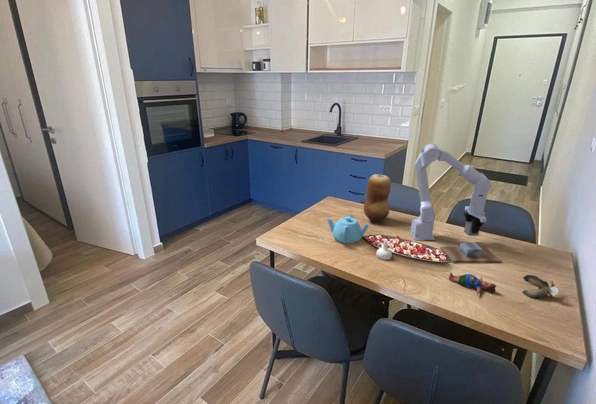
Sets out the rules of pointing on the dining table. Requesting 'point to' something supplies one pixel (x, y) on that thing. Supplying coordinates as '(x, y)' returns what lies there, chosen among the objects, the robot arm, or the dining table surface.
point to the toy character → (473, 282)
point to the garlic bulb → (384, 252)
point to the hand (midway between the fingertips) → (471, 230)
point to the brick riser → (470, 254)
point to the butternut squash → (377, 197)
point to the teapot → (347, 229)
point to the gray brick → (470, 229)
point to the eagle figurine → (542, 285)
